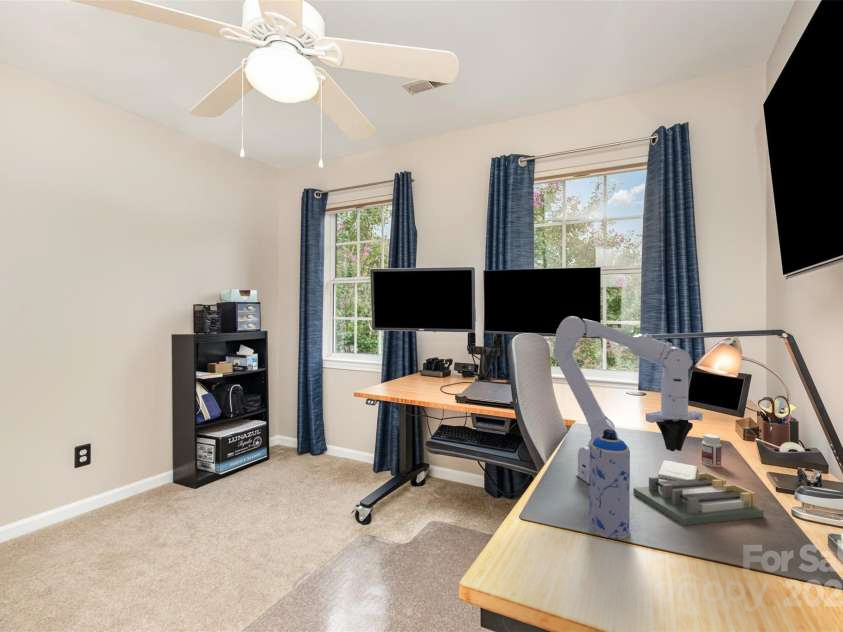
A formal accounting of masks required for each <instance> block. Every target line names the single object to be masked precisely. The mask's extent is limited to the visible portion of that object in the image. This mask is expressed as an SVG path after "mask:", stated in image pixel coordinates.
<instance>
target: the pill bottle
mask: <svg viewBox="0 0 843 632" xmlns="http://www.w3.org/2000/svg"><path fill="white" fill-rule="evenodd" d="M702 439H703V440H702V441H701V463H702V465H704V466H708V467H711V468H720V467H722V444H721V437H720V435H716V434H713V433H703V435H702Z"/></svg>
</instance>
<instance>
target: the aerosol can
mask: <svg viewBox="0 0 843 632" xmlns="http://www.w3.org/2000/svg"><path fill="white" fill-rule="evenodd" d="M615 431H616V430H615ZM615 431H613V430H610V429H606V430H604V431H603V435H601V436H600V437H597V438H595V439H594V441H592V442H591V444H590V445H591V446H590V469H589V484H588V485H589V487H588V488H589V489H588V490H589V492H588V494H589V496H588V499H589V500H588V509H589V510H588V521H587V525H588V528H589V529H590V530H591V531H592V533H595V534H596V535H598V536H601V537H603V538H608V539H614V540H623V539H626V538H628V537H630V536H631V528H630V498H631V495H630V493H631V492H630V490H631V489H630V488H631V487H630V486H631V484H630V483H631V476H630V475H631V451H630V448H629V446H628V445H627V444H626V443H625V441H624V440H622V439H620V438H619V436H618V437H616V433H617V431H616V432H615Z"/></svg>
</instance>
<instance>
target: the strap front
mask: <svg viewBox="0 0 843 632" xmlns="http://www.w3.org/2000/svg"><path fill="white" fill-rule="evenodd" d="M692 497H696V498H698V499H699V502H705V501H717V500H730V499H740V494H739V493H737V492H735V491H721V492H708V493H695V494H683V495H680V498H682V499H684V500H686V501H688V498H692Z"/></svg>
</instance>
